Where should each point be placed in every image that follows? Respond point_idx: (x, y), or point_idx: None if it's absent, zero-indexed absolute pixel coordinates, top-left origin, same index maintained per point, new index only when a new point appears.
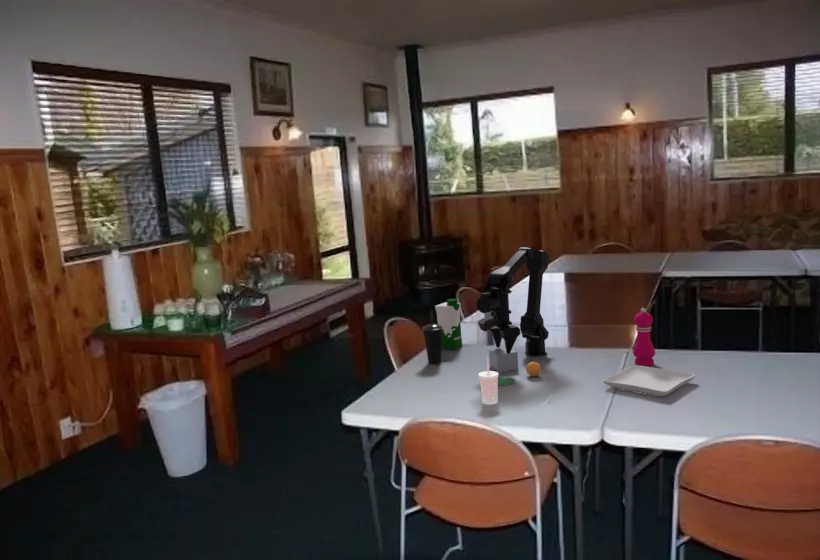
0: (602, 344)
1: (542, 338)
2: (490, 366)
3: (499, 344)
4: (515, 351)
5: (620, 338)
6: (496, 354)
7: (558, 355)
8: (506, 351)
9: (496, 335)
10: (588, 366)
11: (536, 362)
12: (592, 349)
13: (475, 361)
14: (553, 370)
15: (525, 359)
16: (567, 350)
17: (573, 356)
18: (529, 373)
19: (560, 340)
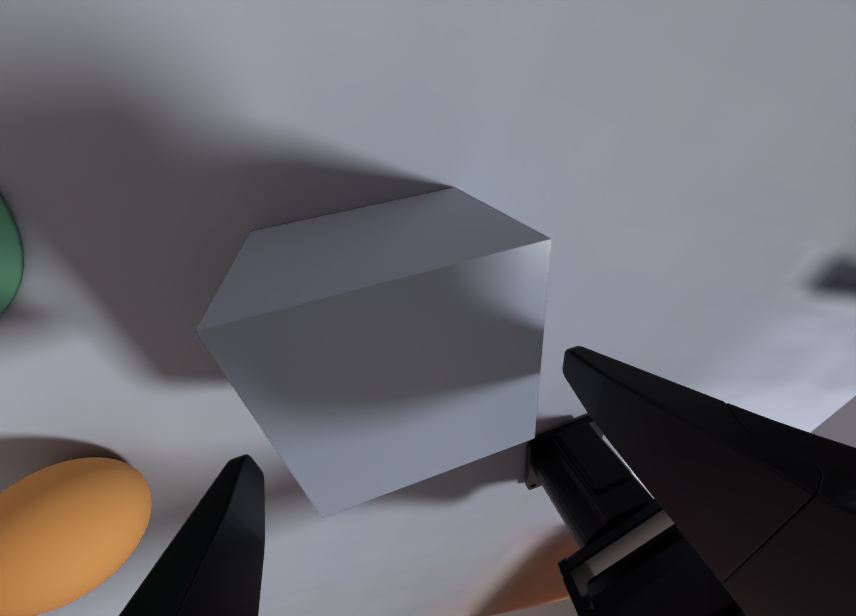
0: (534, 577)
1: (563, 577)
2: (441, 191)
3: (584, 398)
4: (342, 503)
5: (556, 591)
6: (233, 320)
7: (492, 512)
8: (230, 479)
9: (739, 496)
10: (297, 605)
11: (42, 612)
12: (503, 570)
13: (658, 88)
14: None
15: None
16: (534, 525)
17: (454, 549)
18: (9, 487)
19: None
